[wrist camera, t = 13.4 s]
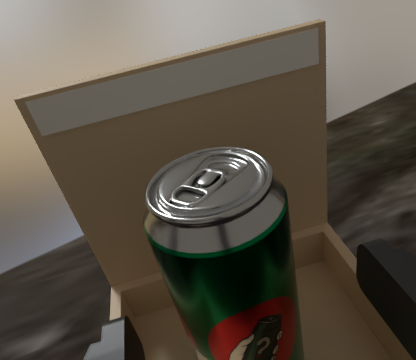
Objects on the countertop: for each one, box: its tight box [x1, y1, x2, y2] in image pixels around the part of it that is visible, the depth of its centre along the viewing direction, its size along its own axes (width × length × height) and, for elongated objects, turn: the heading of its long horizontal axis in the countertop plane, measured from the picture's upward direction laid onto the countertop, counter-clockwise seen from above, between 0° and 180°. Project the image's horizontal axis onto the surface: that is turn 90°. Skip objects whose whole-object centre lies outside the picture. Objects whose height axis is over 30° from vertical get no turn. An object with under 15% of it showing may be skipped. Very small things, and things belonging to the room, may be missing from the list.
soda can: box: [143, 146, 305, 360], centre depth 15 cm, size 5×5×12 cm
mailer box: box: [14, 20, 413, 360], centre depth 14 cm, size 14×13×15 cm
